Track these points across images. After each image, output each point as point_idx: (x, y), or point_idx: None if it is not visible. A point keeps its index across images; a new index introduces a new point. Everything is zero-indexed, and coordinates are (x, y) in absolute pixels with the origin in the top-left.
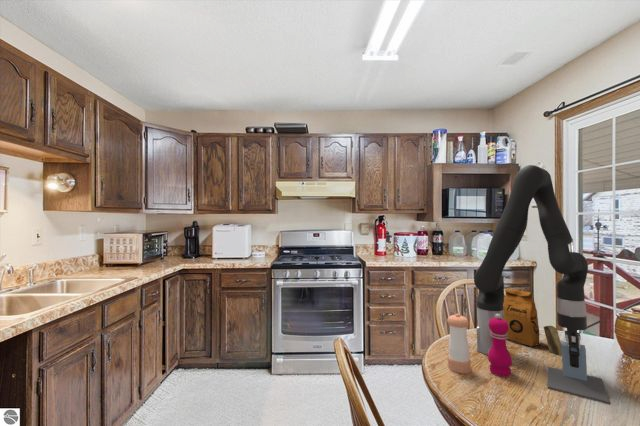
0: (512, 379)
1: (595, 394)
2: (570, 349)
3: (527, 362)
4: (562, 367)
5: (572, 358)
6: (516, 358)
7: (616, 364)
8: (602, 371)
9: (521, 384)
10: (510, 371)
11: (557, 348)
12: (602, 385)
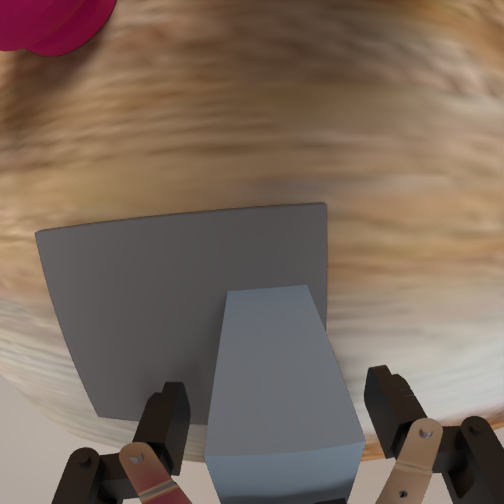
0: (28, 80)
1: (117, 393)
2: (65, 487)
3: (340, 83)
4: (298, 297)
5: (139, 435)
6: (360, 24)
7: (489, 408)
8: (418, 399)
9: (7, 129)
10: (47, 51)
11: None
12: None
